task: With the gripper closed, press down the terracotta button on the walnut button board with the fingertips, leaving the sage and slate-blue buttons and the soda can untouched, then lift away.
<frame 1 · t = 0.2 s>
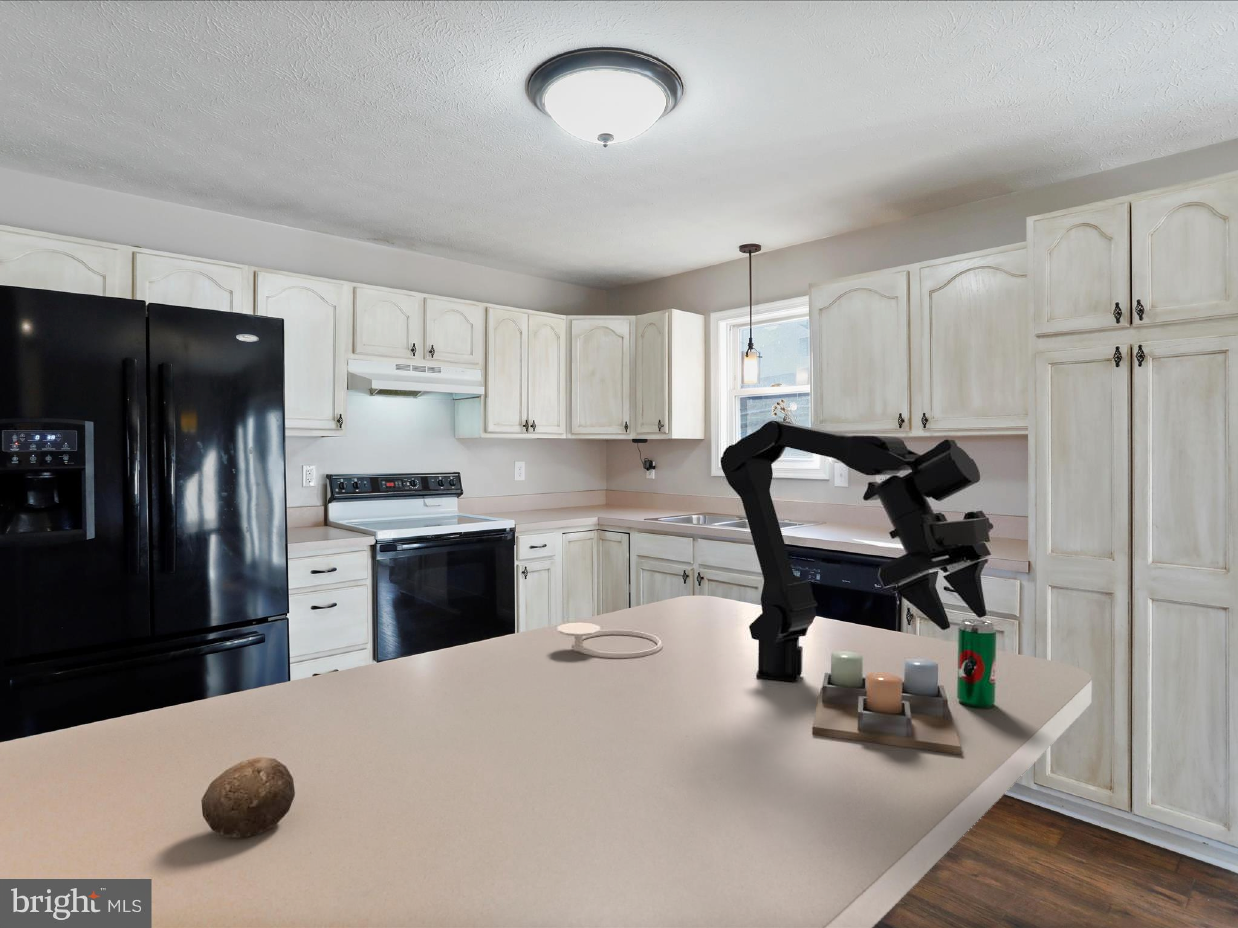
hand: (965, 622, 94), 14 cm above the counter, fingers open, 9 cm apart
hand towel holder: (609, 649, 134), on the counter
slate-blue button: (920, 676, 101), point 5 cm above the counter, slide at 0.0 cm
sage button: (846, 669, 104), point 5 cm above the counter, slide at 0.0 cm
soda can: (975, 704, 105), on the counter
walnut button board: (883, 720, 98), on the counter
terracotta button: (884, 692, 94), point 5 cm above the counter, slide at 0.0 cm
brown speckled pebble: (249, 826, 70), on the counter
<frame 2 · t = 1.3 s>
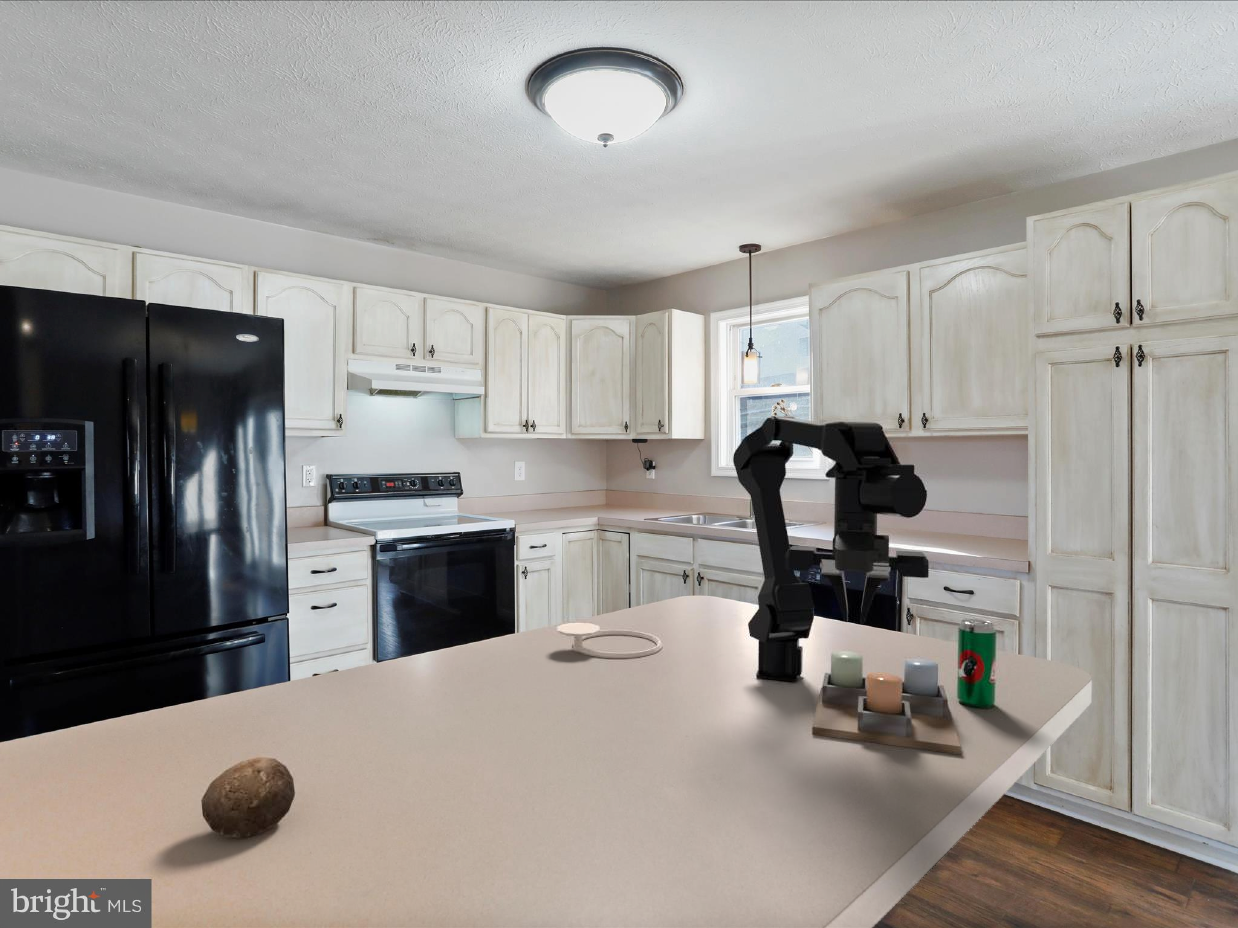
hand: (854, 622, 100), 13 cm above the counter, fingers closed
nothing on the counter moved.
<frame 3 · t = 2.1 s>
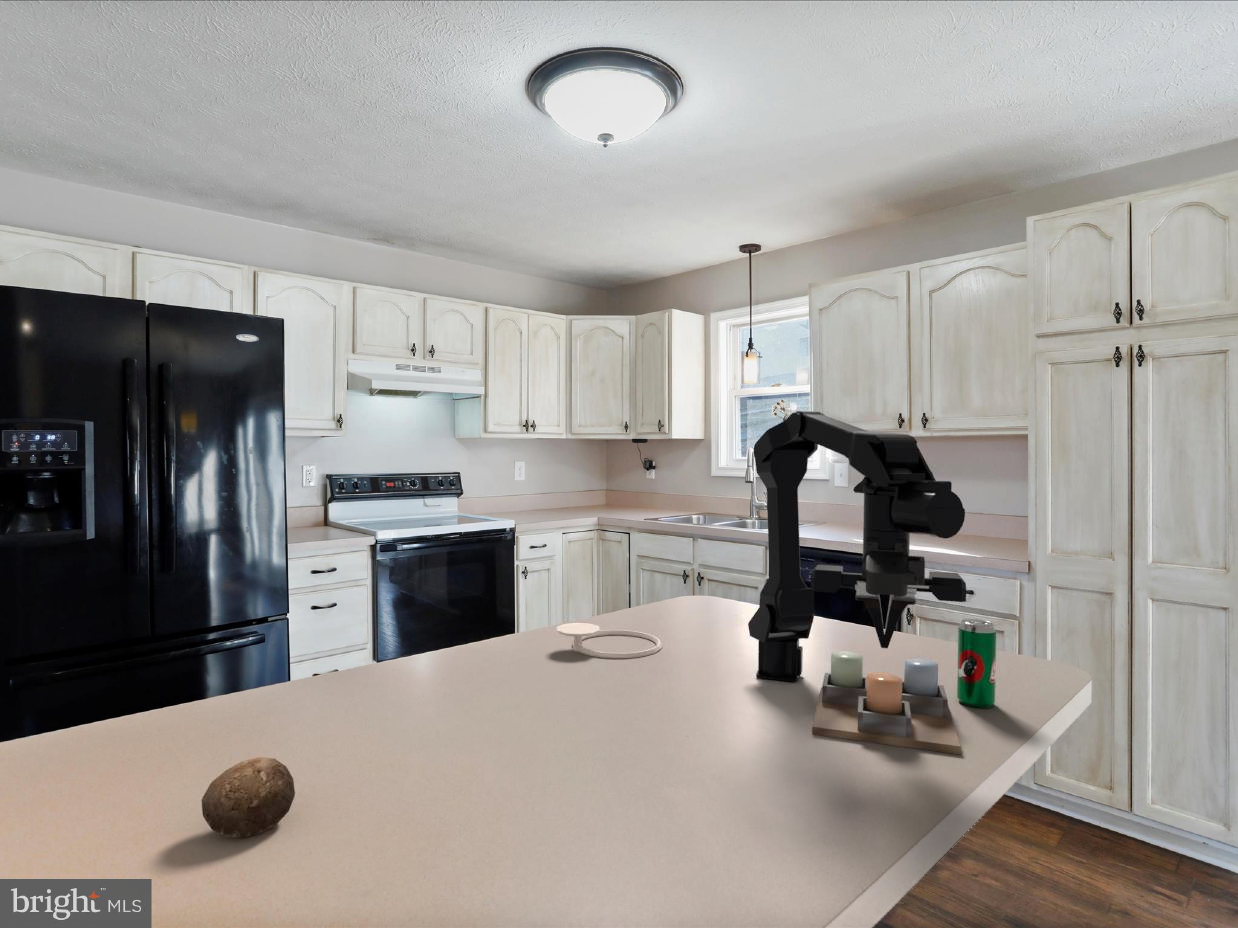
hand: (884, 647, 94), 11 cm above the counter, fingers closed
nothing on the counter moved.
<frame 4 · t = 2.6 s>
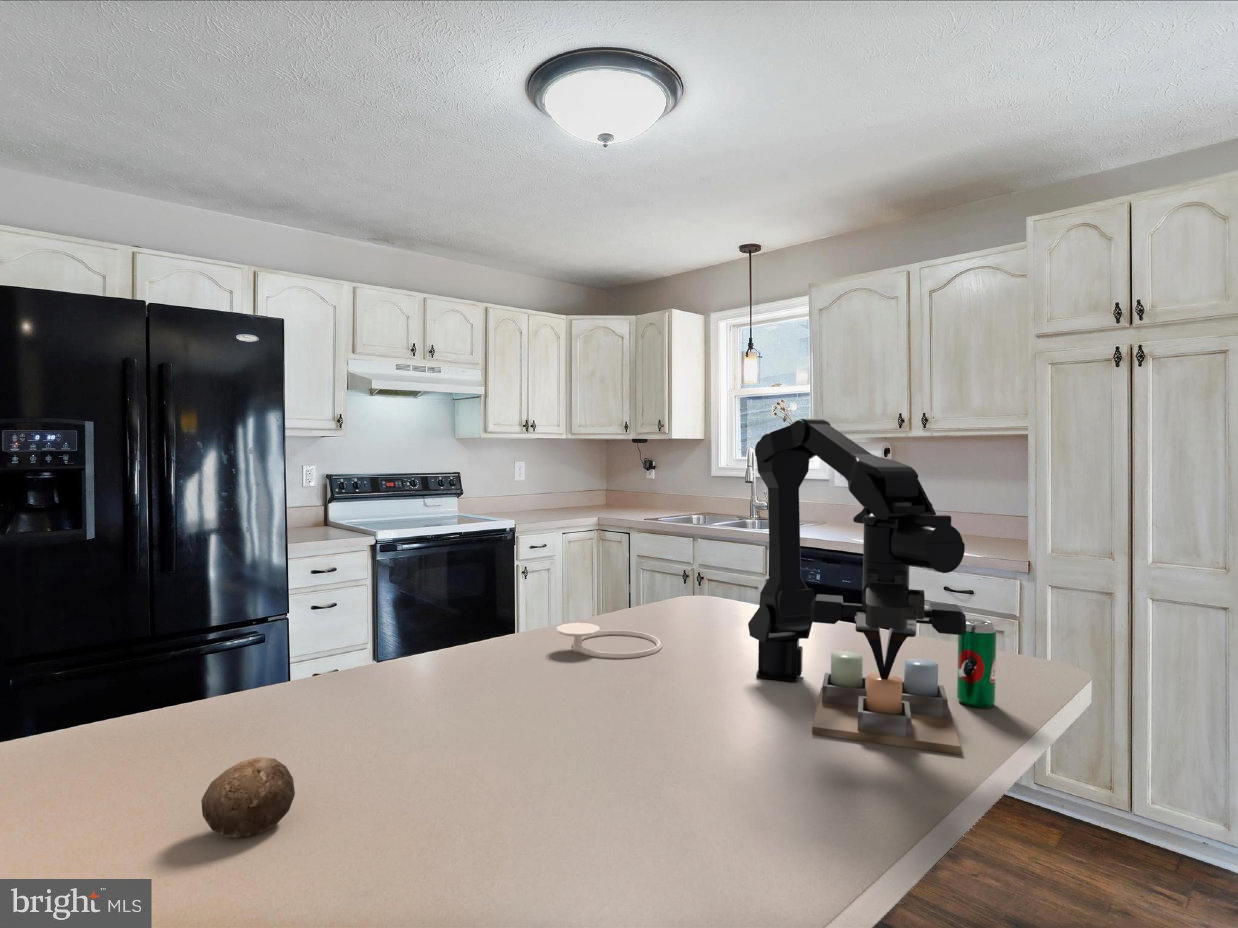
hand: (884, 678, 94), 7 cm above the counter, fingers closed, pressing on terracotta button
terracotta button: (884, 693, 94), point 5 cm above the counter, slide at -0.1 cm, touching gripper
everything else where it was.
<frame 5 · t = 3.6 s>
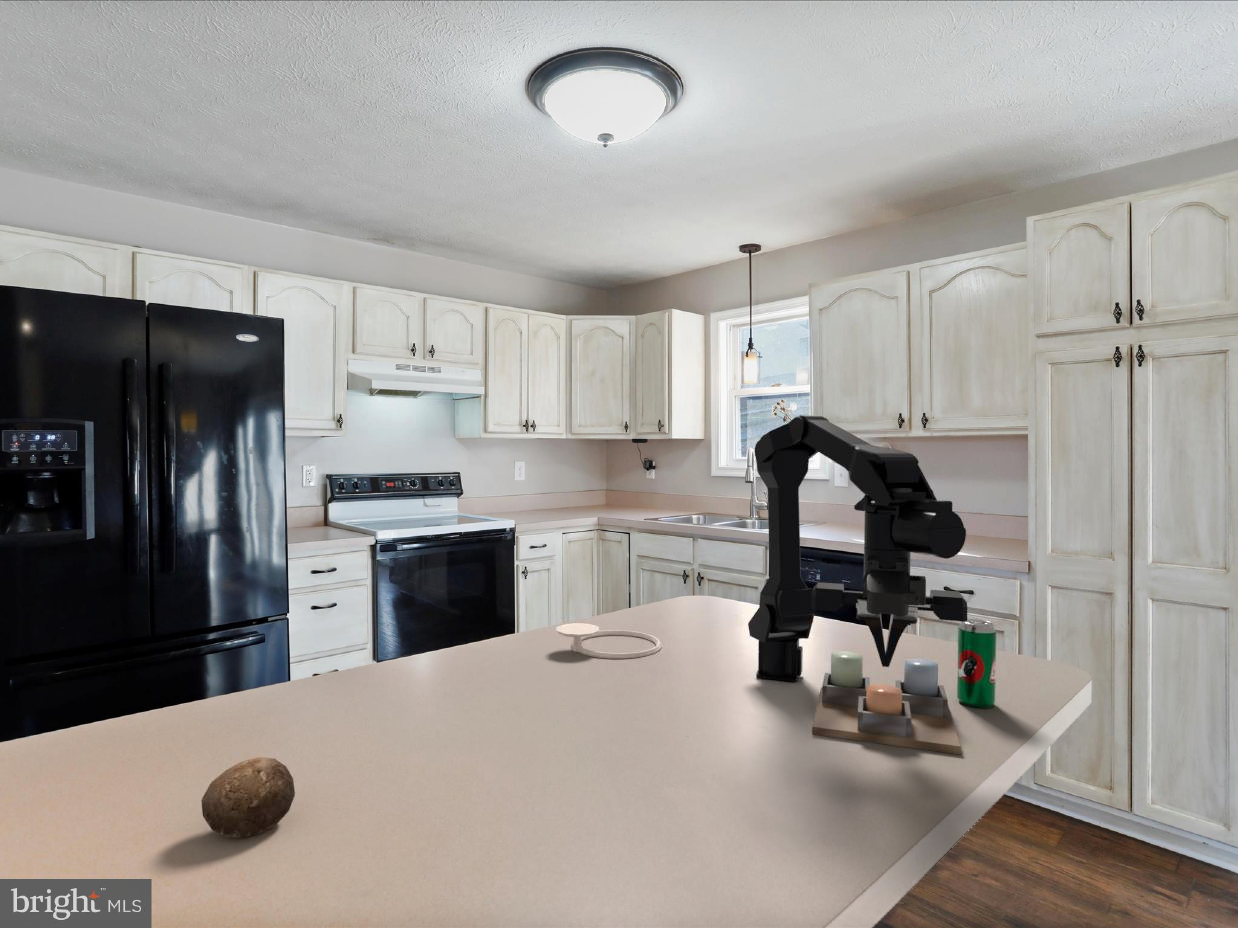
hand: (885, 666, 94), 9 cm above the counter, fingers closed
terracotta button: (883, 704, 94), point 4 cm above the counter, slide at -1.5 cm
everything else where it was.
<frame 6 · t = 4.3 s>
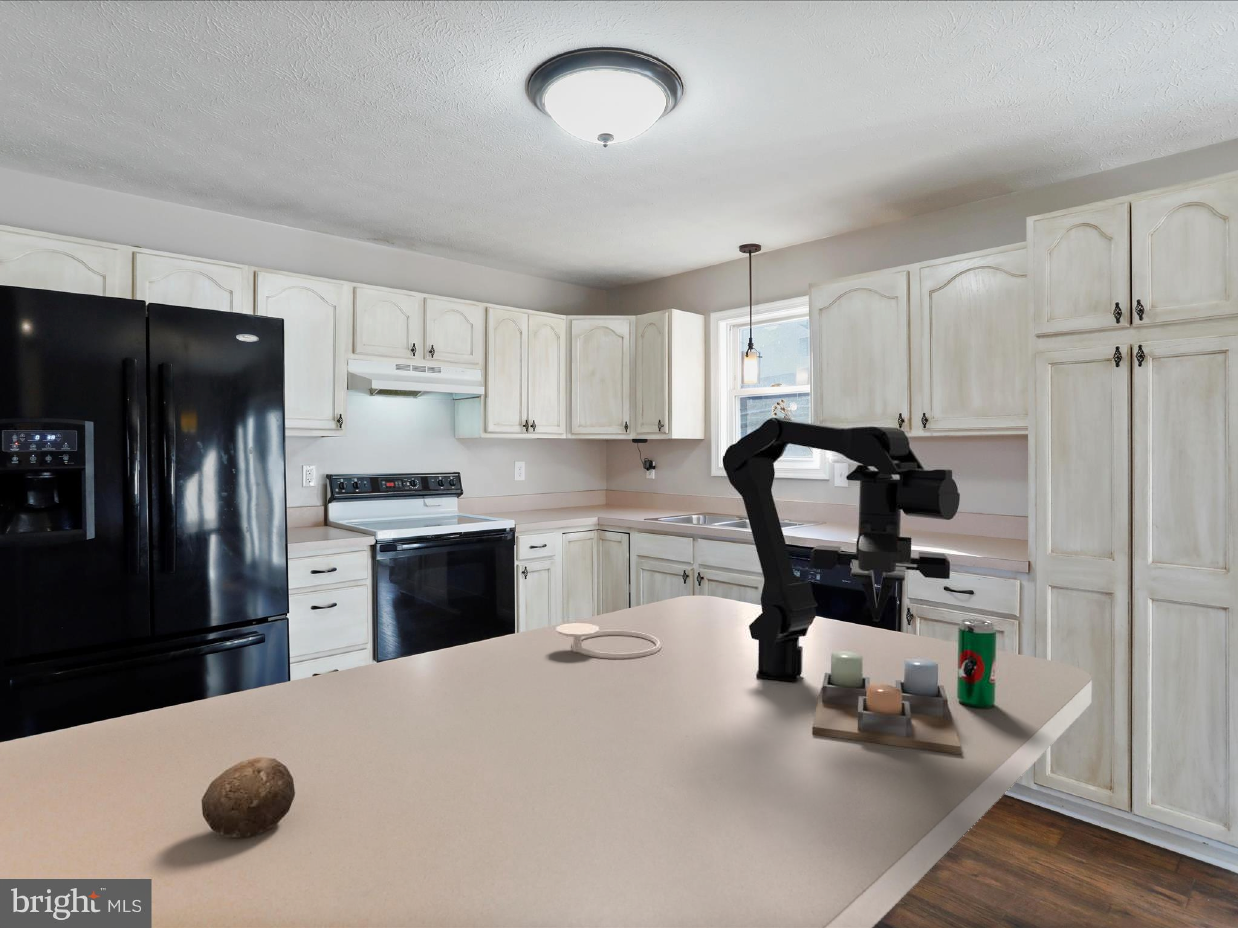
hand: (876, 620, 104), 12 cm above the counter, fingers closed
nothing on the counter moved.
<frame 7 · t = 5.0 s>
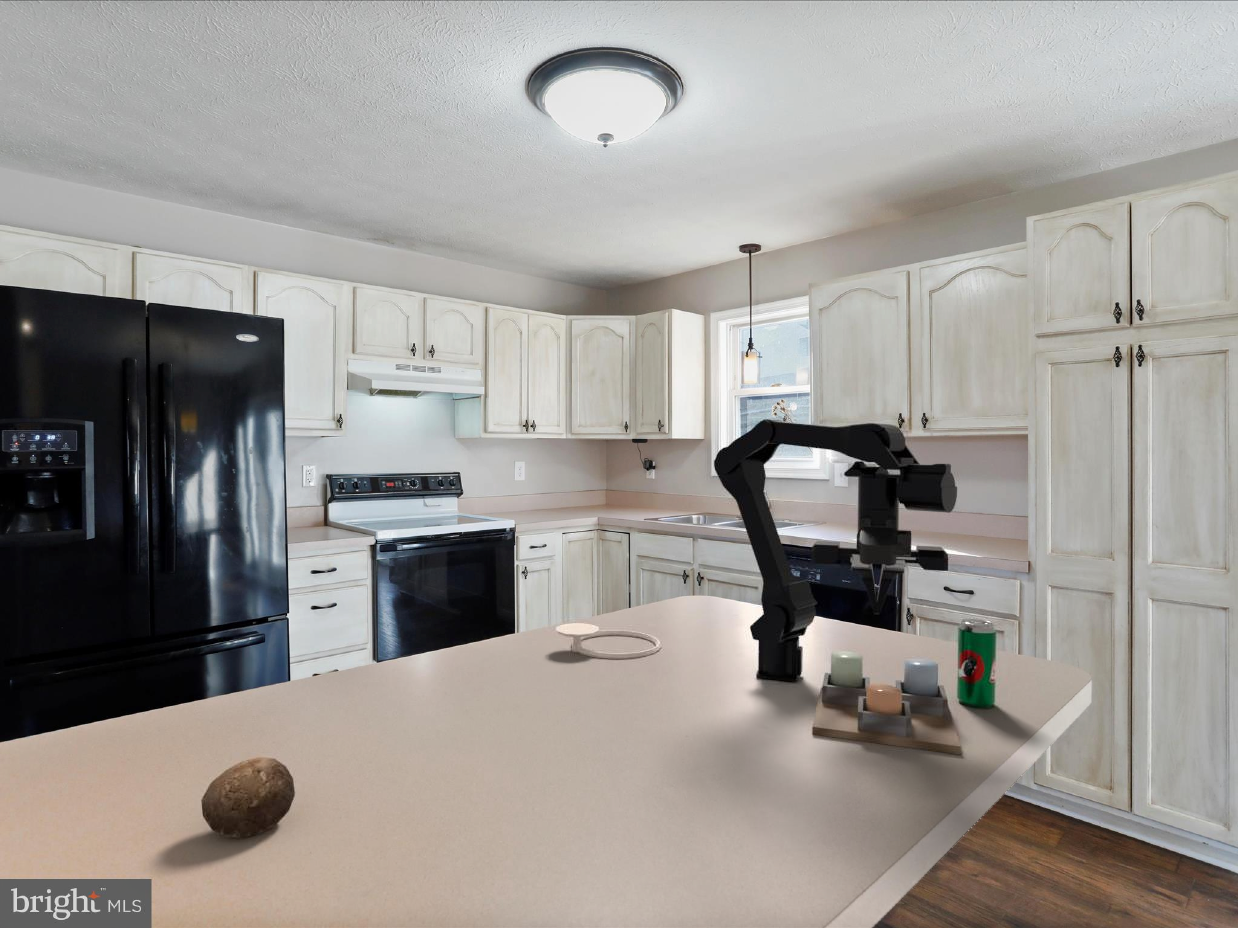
hand: (876, 613, 106), 13 cm above the counter, fingers closed
nothing on the counter moved.
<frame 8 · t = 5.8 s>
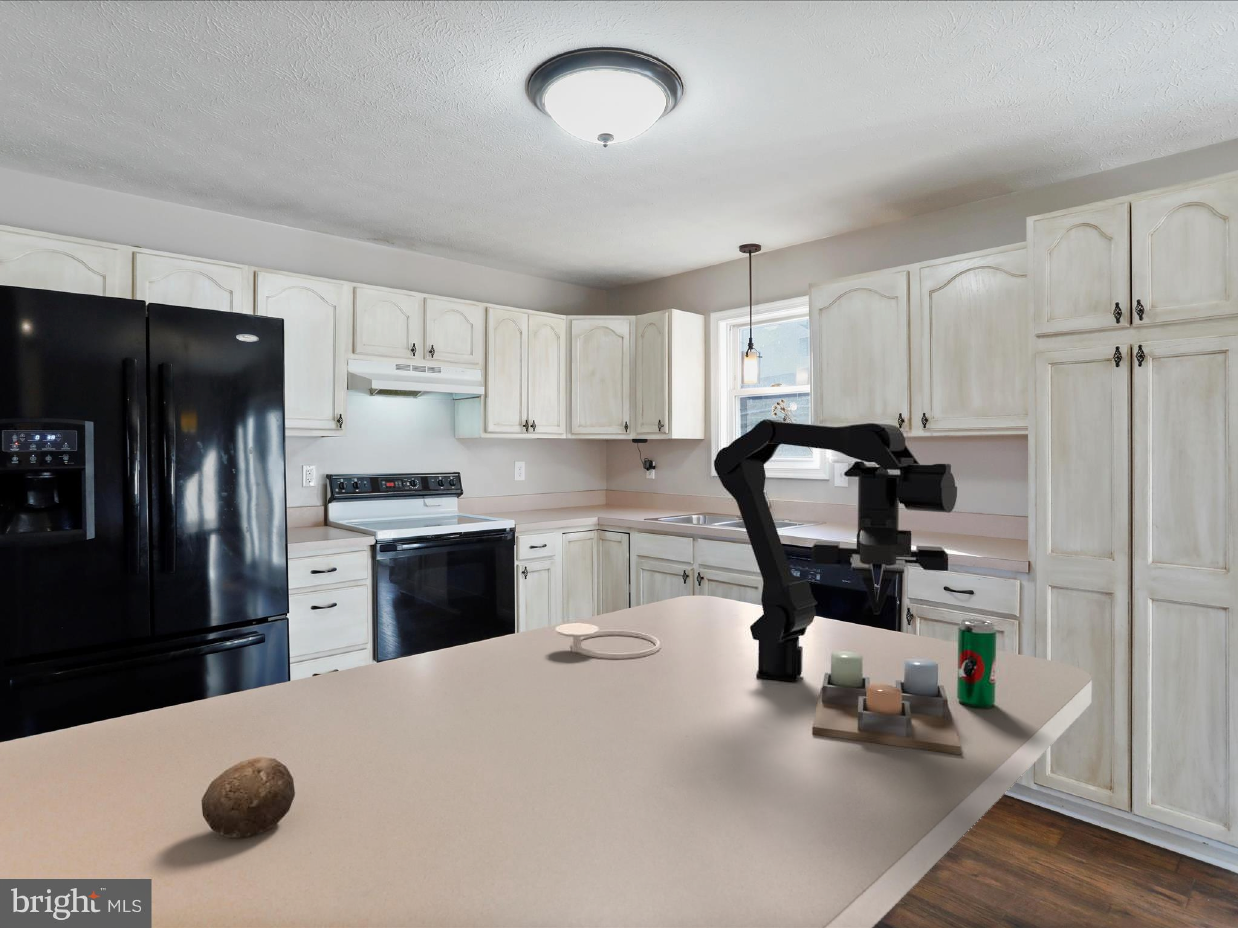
hand: (876, 613, 106), 13 cm above the counter, fingers closed
nothing on the counter moved.
at the end: terracotta button slide at -1.5 cm; sage button slide at 0.0 cm; slate-blue button slide at 0.0 cm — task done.
